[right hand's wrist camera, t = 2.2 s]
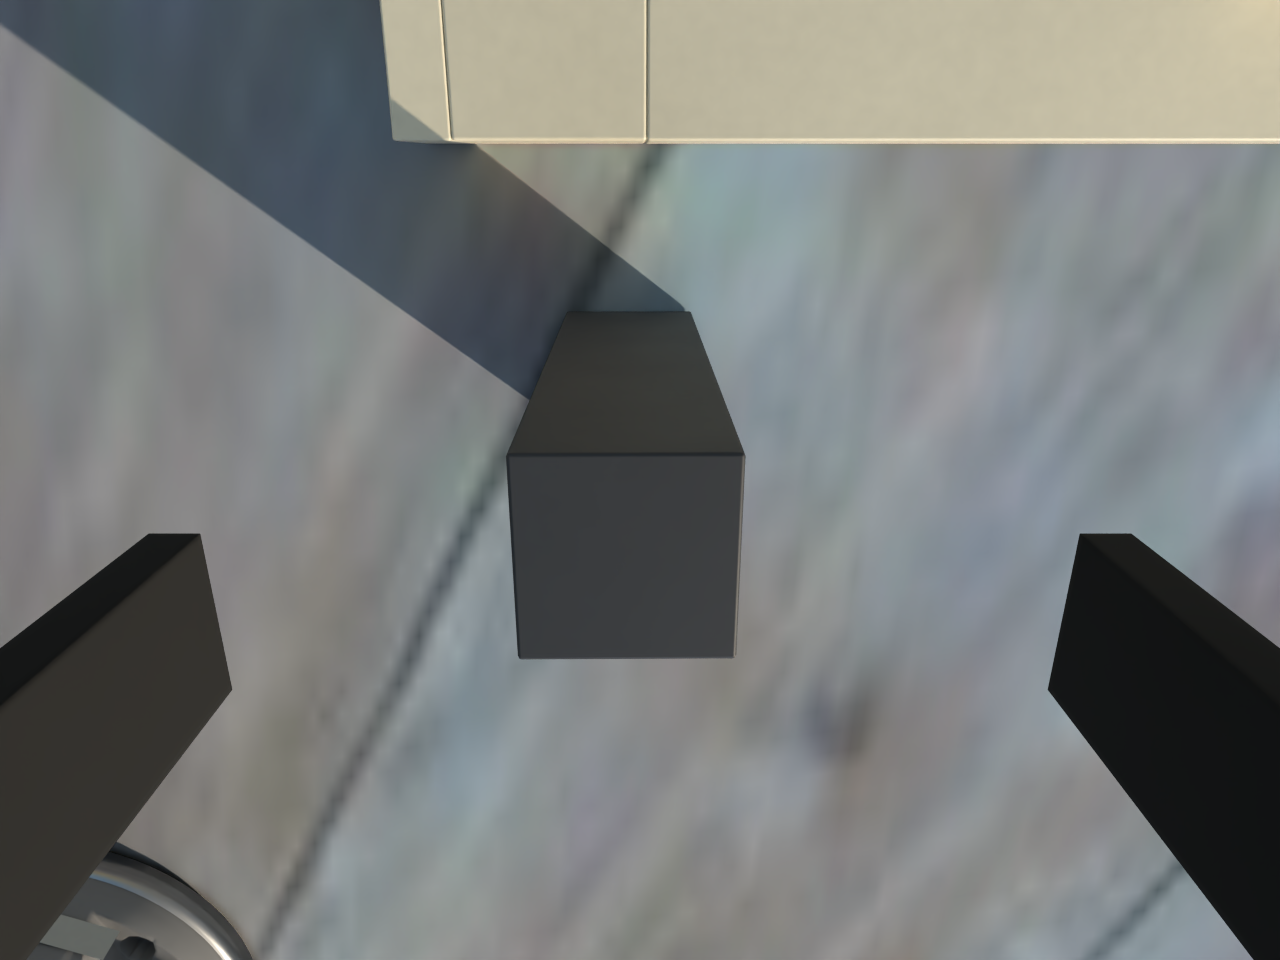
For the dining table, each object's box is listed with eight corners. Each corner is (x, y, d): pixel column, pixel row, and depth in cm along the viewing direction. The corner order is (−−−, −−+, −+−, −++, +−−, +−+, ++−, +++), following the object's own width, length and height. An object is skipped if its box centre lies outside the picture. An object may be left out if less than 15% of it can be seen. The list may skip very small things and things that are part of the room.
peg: (570, 430, 29) (517, 660, 15) (566, 311, 27) (505, 454, 14) (688, 430, 29) (736, 659, 15) (691, 310, 27) (745, 452, 14)
